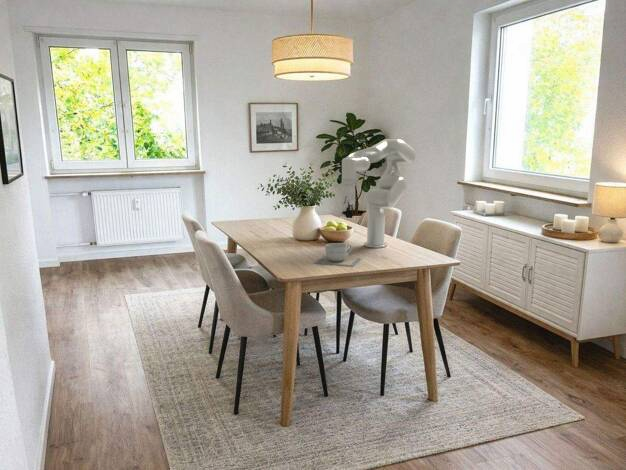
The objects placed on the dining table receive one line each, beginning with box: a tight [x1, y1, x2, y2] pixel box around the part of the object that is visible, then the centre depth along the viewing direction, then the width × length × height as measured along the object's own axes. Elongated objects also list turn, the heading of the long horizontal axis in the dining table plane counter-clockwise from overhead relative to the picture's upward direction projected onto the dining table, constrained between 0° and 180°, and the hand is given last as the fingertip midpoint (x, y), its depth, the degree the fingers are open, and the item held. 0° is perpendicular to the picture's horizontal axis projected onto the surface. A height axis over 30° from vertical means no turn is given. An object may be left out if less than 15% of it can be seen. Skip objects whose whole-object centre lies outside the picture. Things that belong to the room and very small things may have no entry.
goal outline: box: [313, 254, 362, 268], centre depth 255 cm, size 16×20×1 cm
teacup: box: [324, 242, 353, 262], centre depth 257 cm, size 14×11×8 cm
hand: (349, 217), depth 269 cm, fingers closed
